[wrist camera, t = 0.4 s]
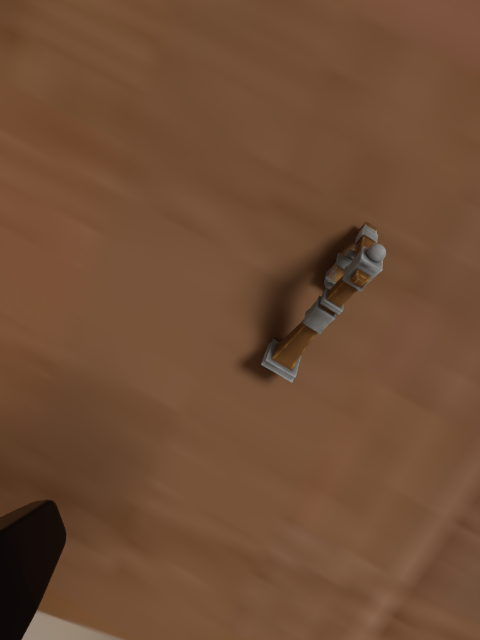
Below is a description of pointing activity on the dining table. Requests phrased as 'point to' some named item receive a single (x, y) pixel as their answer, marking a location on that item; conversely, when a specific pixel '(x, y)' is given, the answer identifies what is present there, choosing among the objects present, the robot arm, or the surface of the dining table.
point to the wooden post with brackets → (328, 301)
